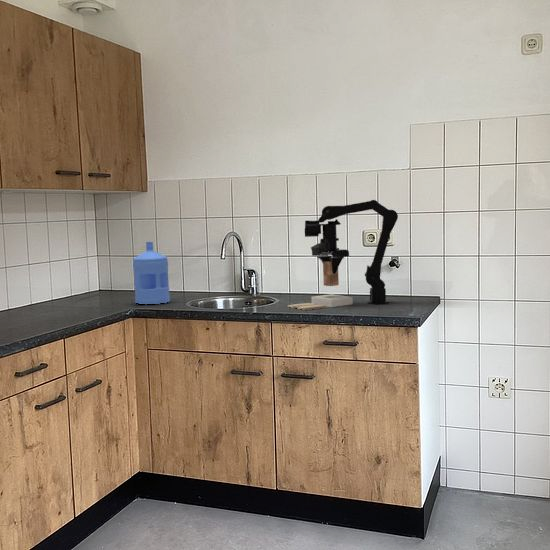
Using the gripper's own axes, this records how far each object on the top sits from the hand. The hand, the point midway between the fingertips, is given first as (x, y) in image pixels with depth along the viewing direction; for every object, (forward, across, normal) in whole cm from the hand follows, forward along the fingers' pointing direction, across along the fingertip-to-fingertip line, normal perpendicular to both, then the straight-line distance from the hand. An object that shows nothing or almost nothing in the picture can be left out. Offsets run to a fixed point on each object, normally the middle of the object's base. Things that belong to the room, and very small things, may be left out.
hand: (330, 273), depth 277 cm
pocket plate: (+13, 0, 0) cm, 13 cm away
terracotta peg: (+5, 0, 0) cm, 5 cm away
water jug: (+13, -63, -55) cm, 85 cm away
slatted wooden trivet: (+13, 0, -13) cm, 18 cm away
